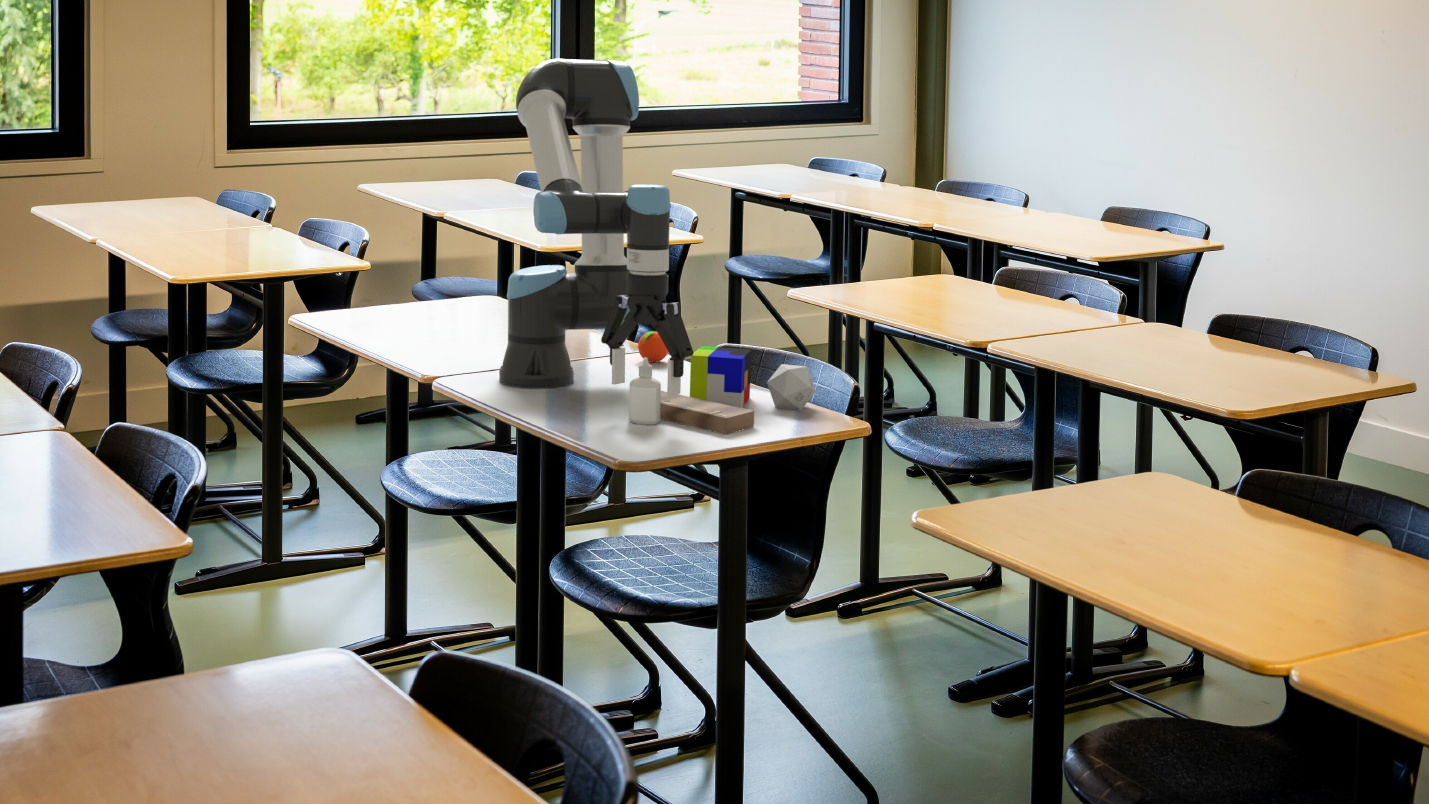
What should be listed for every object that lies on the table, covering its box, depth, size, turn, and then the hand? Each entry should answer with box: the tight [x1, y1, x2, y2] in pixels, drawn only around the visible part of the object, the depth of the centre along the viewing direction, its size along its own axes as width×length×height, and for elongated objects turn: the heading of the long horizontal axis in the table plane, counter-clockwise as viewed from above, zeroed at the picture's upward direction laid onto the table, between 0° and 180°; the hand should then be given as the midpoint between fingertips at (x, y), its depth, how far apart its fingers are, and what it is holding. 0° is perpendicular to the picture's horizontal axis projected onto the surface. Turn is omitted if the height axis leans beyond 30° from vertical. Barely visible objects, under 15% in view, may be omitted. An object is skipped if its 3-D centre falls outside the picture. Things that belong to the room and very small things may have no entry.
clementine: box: [637, 329, 669, 363], centre depth 311 cm, size 8×7×7 cm
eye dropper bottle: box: [628, 358, 662, 426], centre depth 256 cm, size 4×6×12 cm
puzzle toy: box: [689, 345, 752, 408], centre depth 274 cm, size 10×10×10 cm
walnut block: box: [660, 390, 755, 435], centre depth 260 cm, size 23×8×3 cm, turn 51°
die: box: [766, 363, 817, 411], centre depth 273 cm, size 8×9×10 cm
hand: (645, 389), depth 256 cm, fingers open, 13 cm apart
